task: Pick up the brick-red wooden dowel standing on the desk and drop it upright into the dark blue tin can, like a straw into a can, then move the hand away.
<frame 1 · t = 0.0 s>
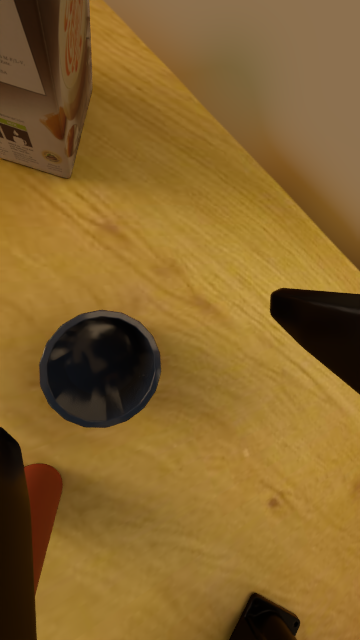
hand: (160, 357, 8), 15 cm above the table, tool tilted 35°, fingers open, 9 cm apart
dowel: (34, 489, 20), on the table
coffee box: (44, 120, 21), on the table
can: (103, 357, 22), on the table
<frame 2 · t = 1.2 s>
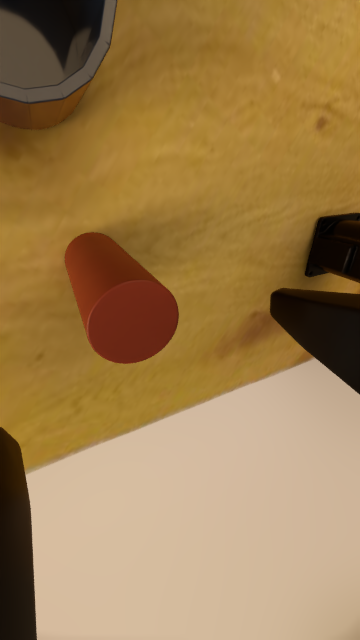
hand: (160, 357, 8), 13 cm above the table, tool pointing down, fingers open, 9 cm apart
dowel: (94, 260, 18), on the table
can: (9, 41, 12), on the table
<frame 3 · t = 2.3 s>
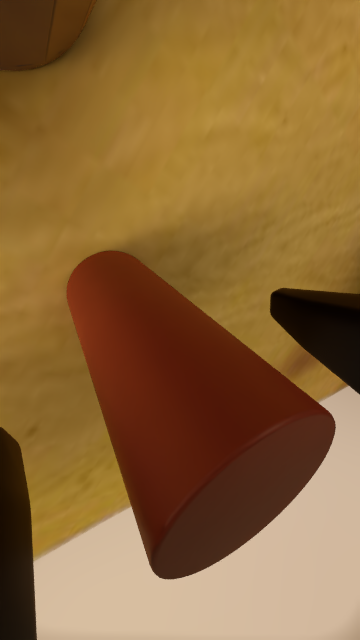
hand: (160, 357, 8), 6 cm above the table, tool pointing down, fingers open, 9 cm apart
dowel: (111, 292, 12), on the table
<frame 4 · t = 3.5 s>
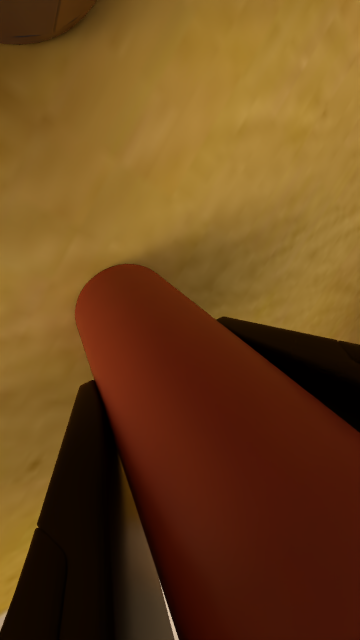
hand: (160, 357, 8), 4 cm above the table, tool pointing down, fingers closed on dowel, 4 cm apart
dowel: (126, 310, 11), on the table, touching gripper
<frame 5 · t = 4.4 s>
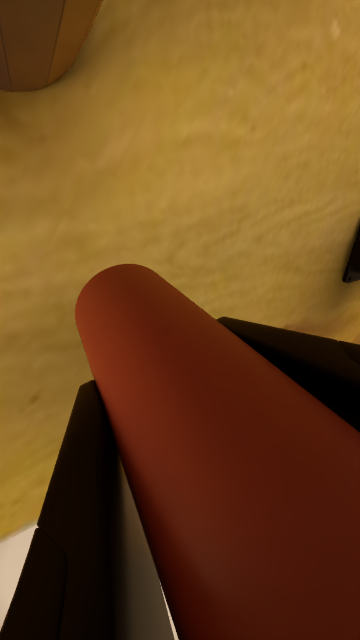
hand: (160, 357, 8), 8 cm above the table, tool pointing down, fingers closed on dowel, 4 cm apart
dowel: (126, 310, 11), point 5 cm above the table, touching gripper
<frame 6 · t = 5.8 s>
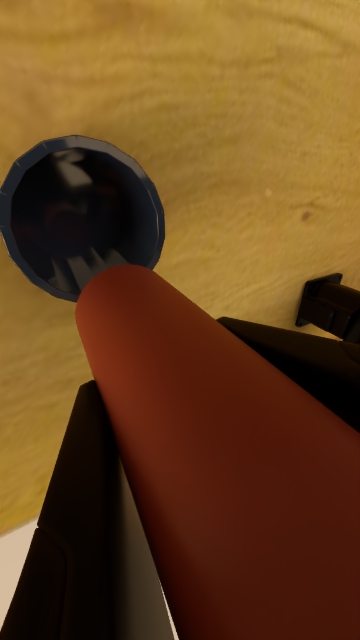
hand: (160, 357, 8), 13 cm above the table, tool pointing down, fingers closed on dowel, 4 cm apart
dowel: (126, 311, 11), point 10 cm above the table, touching gripper
can: (72, 212, 16), on the table
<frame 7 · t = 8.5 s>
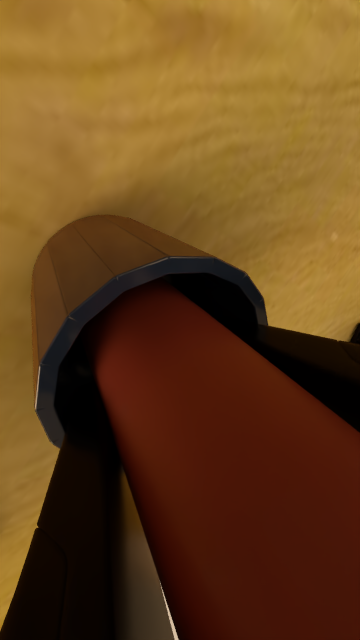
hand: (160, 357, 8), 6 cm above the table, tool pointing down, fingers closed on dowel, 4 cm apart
dowel: (126, 310, 11), point 3 cm above the table, touching gripper
can: (111, 288, 12), on the table
when the fingers open (8 cm above the table, at t = 17.1 s): dowel drops 4 cm, resting on can.
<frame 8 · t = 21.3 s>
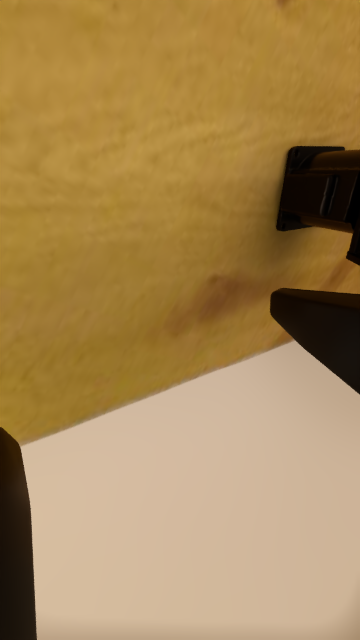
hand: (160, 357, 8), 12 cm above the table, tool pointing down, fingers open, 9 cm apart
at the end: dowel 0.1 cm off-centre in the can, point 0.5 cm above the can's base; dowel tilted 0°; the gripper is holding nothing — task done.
